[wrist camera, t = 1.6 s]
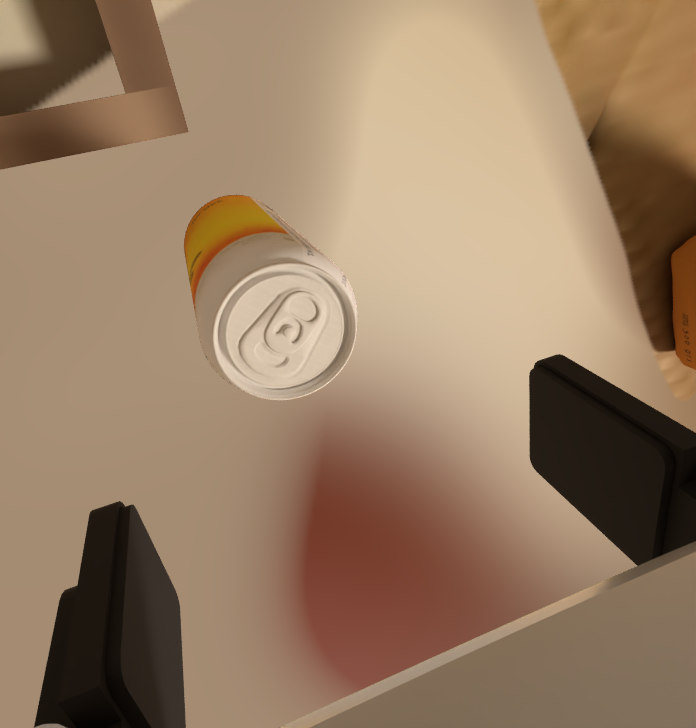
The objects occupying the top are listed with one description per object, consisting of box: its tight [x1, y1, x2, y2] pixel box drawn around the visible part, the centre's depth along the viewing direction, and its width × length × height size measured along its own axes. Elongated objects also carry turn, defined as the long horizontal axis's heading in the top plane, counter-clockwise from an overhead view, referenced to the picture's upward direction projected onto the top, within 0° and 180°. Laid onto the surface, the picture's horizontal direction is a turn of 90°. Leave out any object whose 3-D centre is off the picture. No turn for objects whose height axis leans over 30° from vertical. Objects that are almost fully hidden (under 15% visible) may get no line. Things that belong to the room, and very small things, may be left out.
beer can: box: [184, 195, 357, 400], centre depth 25 cm, size 6×6×15 cm
